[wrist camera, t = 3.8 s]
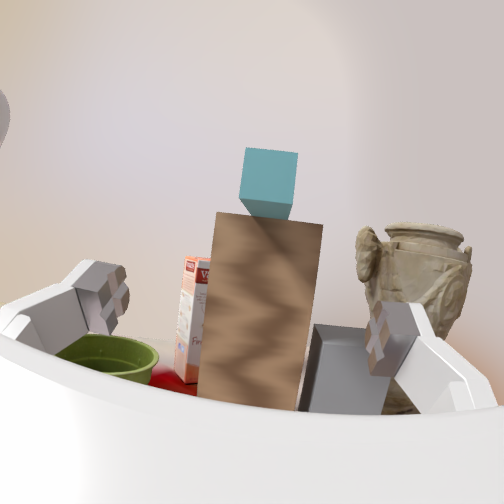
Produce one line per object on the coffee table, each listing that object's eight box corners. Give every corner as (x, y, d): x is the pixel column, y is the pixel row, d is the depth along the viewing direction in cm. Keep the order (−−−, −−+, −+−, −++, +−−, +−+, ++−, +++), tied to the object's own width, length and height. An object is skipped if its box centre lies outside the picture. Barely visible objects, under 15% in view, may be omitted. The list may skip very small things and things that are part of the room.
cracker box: (185, 386, 48) (197, 258, 48) (172, 371, 53) (183, 254, 53) (256, 378, 56) (272, 265, 56) (239, 366, 61) (253, 261, 61)
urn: (408, 380, 58) (433, 238, 58) (469, 413, 40) (505, 239, 40) (307, 390, 52) (334, 218, 52) (361, 444, 34) (407, 210, 34)
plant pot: (154, 416, 37) (157, 338, 36) (160, 473, 25) (161, 379, 25) (68, 406, 33) (63, 327, 33) (49, 459, 22) (33, 362, 22)
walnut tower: (192, 467, 27) (216, 211, 27) (213, 417, 39) (235, 223, 39) (278, 480, 27) (323, 224, 26) (278, 426, 39) (309, 233, 38)
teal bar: (239, 197, 18) (245, 147, 18) (261, 229, 44) (264, 208, 44) (292, 204, 18) (297, 152, 18) (283, 232, 44) (286, 210, 44)
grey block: (292, 482, 26) (324, 343, 26) (290, 443, 34) (314, 323, 34) (356, 483, 26) (397, 349, 26) (344, 446, 34) (373, 329, 34)
